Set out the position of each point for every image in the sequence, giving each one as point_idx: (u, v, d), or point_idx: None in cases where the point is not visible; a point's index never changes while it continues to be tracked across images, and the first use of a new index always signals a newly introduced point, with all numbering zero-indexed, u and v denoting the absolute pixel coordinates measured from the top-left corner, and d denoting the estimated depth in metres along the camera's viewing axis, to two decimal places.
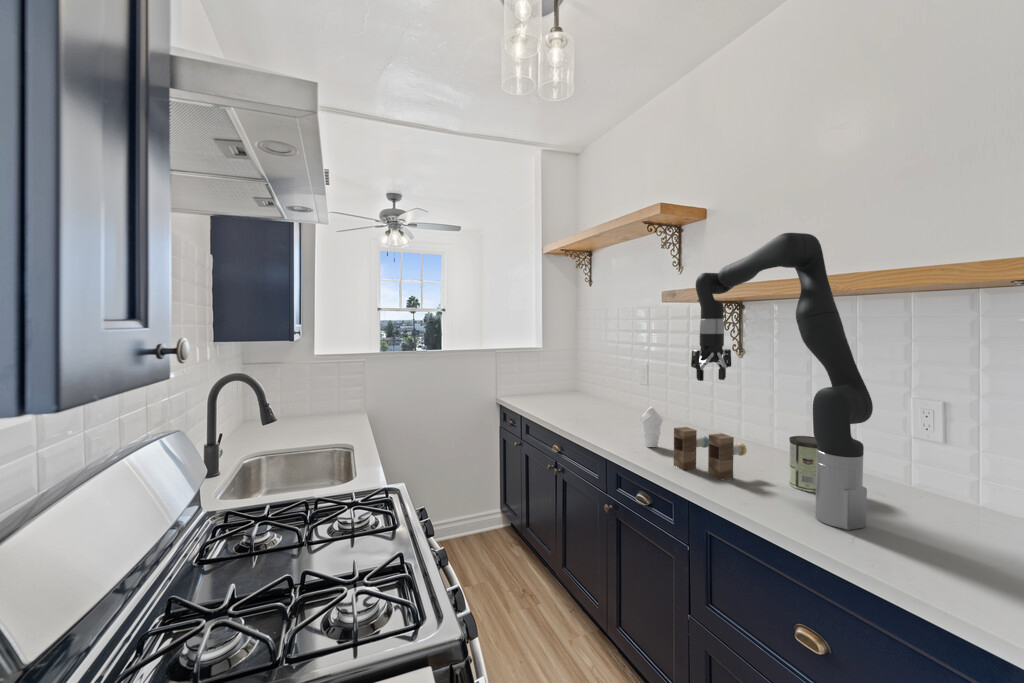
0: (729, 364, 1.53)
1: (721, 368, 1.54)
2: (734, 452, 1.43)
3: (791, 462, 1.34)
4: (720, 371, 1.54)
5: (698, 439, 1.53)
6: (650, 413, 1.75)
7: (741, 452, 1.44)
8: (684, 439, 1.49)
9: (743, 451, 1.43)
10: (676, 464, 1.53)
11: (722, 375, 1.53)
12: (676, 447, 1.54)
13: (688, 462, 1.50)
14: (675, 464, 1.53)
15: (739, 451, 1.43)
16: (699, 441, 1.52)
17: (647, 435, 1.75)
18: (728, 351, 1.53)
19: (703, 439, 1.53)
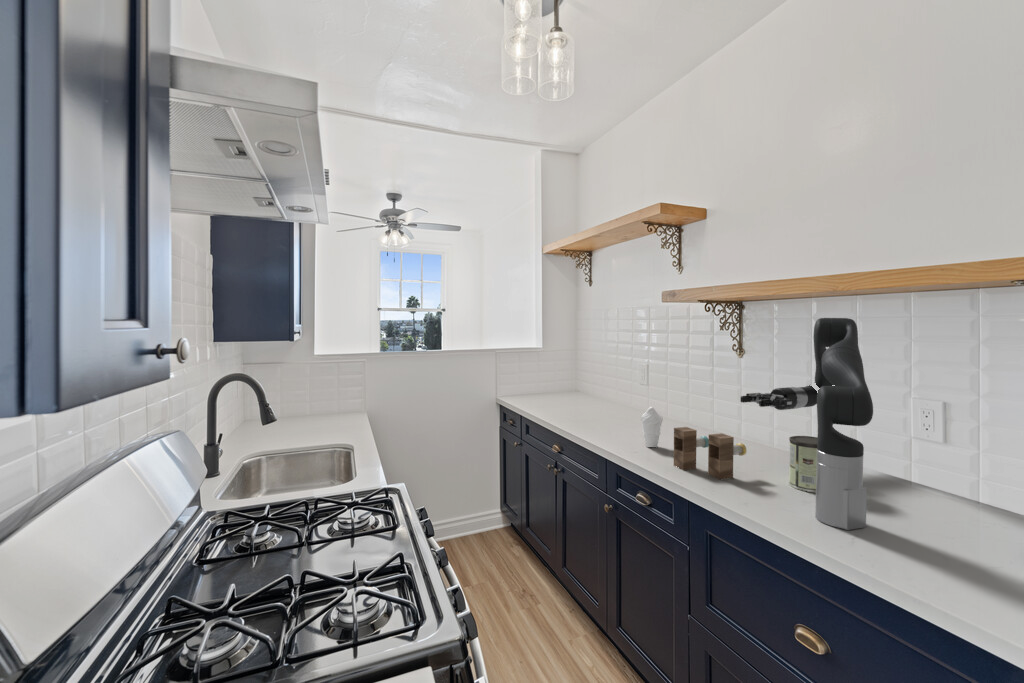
0: (778, 399, 1.47)
1: None
2: (734, 452, 1.43)
3: (791, 462, 1.34)
4: None
5: (698, 439, 1.53)
6: (650, 413, 1.75)
7: (741, 452, 1.44)
8: (684, 439, 1.49)
9: (743, 451, 1.43)
10: (676, 464, 1.53)
11: None
12: (676, 447, 1.54)
13: (688, 462, 1.50)
14: (675, 464, 1.53)
15: (739, 451, 1.43)
16: (699, 441, 1.52)
17: (647, 435, 1.75)
18: None
19: (703, 439, 1.53)
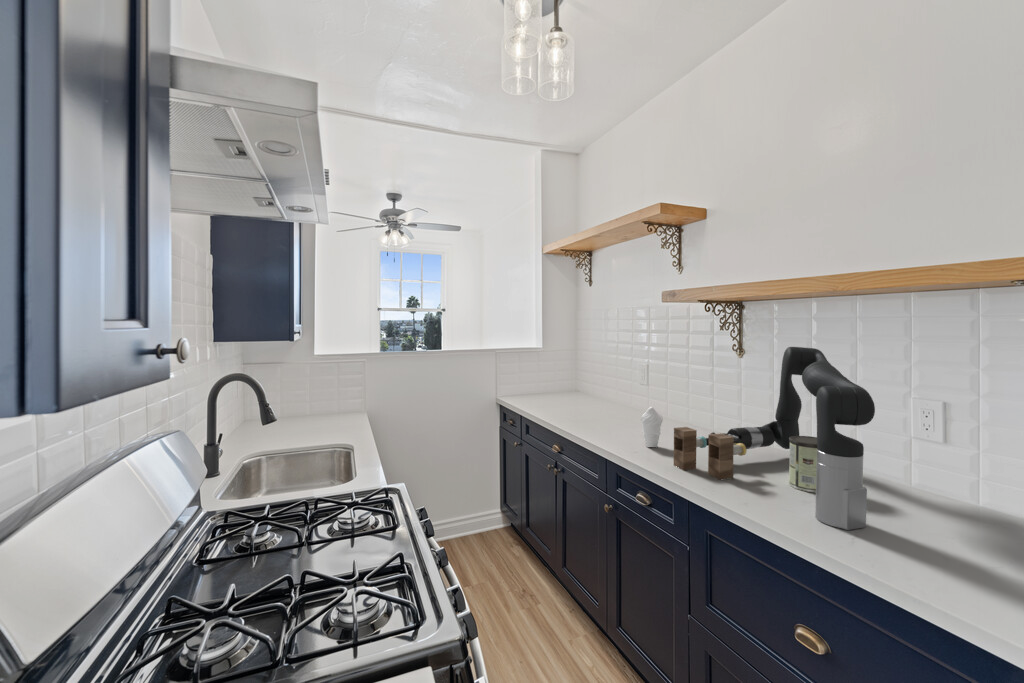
0: None
1: None
2: (734, 452, 1.43)
3: (791, 462, 1.34)
4: None
5: (696, 439, 1.52)
6: (650, 413, 1.75)
7: (741, 452, 1.44)
8: (684, 439, 1.49)
9: (743, 451, 1.43)
10: (676, 464, 1.53)
11: None
12: (676, 447, 1.54)
13: (688, 462, 1.50)
14: (675, 464, 1.53)
15: (739, 451, 1.43)
16: (697, 441, 1.52)
17: (647, 435, 1.75)
18: None
19: (701, 439, 1.53)
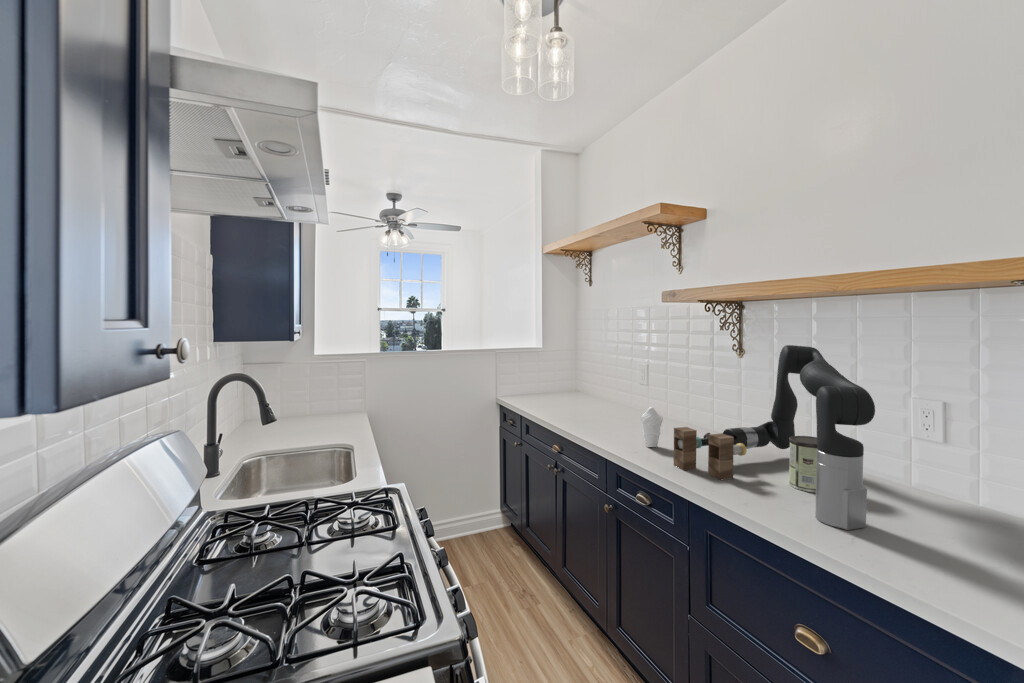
0: None
1: None
2: (734, 452, 1.43)
3: (791, 462, 1.34)
4: None
5: None
6: (650, 413, 1.75)
7: (741, 452, 1.44)
8: (684, 439, 1.49)
9: (743, 451, 1.43)
10: (676, 464, 1.53)
11: None
12: (676, 447, 1.54)
13: (688, 462, 1.50)
14: (675, 464, 1.53)
15: (739, 451, 1.43)
16: None
17: (647, 435, 1.75)
18: None
19: (696, 440, 1.52)
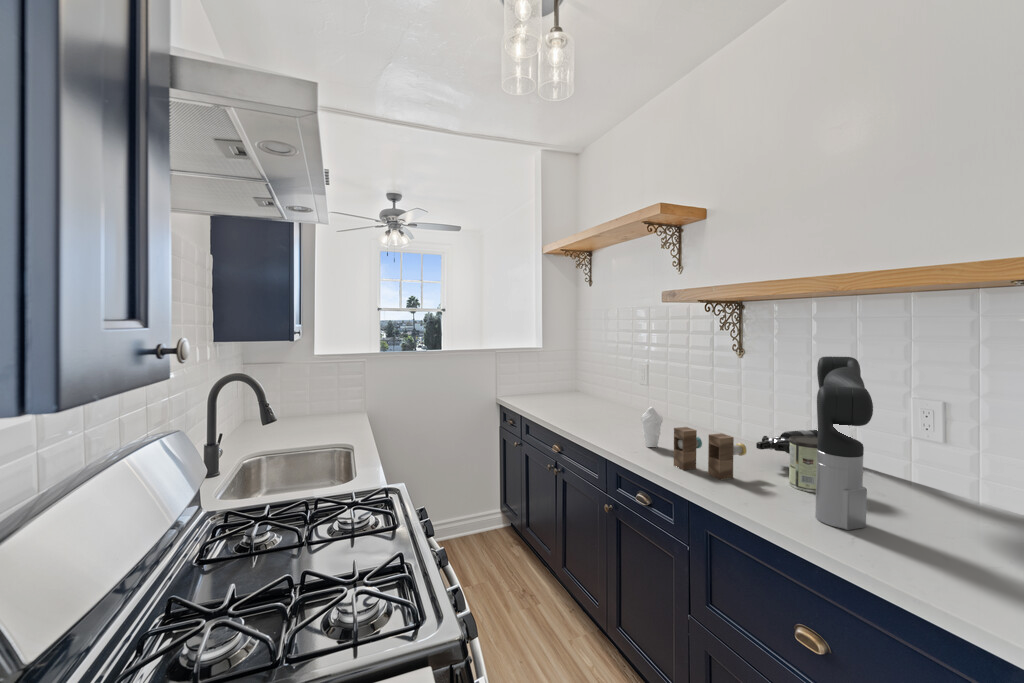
0: (776, 442, 1.49)
1: None
2: (734, 452, 1.43)
3: (791, 462, 1.34)
4: None
5: None
6: (650, 413, 1.75)
7: (741, 452, 1.44)
8: (684, 439, 1.49)
9: (743, 451, 1.43)
10: (676, 464, 1.53)
11: None
12: (676, 447, 1.54)
13: (688, 462, 1.50)
14: (675, 464, 1.53)
15: (739, 451, 1.43)
16: None
17: (647, 435, 1.75)
18: None
19: (696, 440, 1.52)
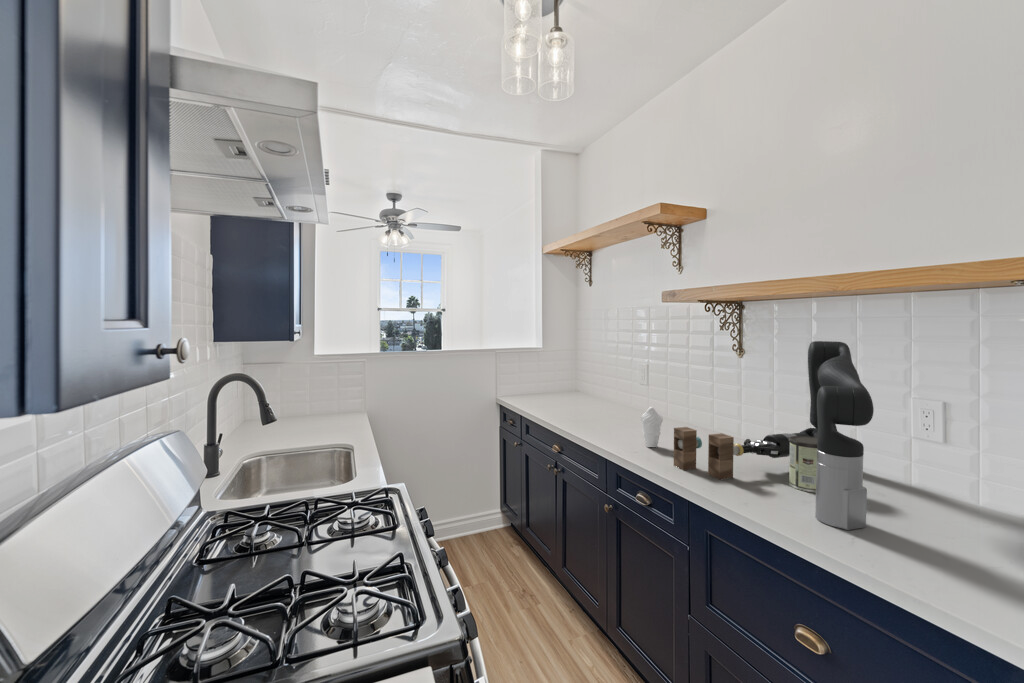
0: (758, 446, 1.44)
1: None
2: None
3: (791, 462, 1.34)
4: None
5: None
6: (650, 413, 1.75)
7: (738, 452, 1.43)
8: (684, 439, 1.49)
9: (740, 451, 1.43)
10: (676, 464, 1.53)
11: None
12: (676, 447, 1.54)
13: (688, 462, 1.50)
14: (675, 464, 1.53)
15: (736, 451, 1.43)
16: None
17: (647, 435, 1.75)
18: None
19: (696, 440, 1.52)
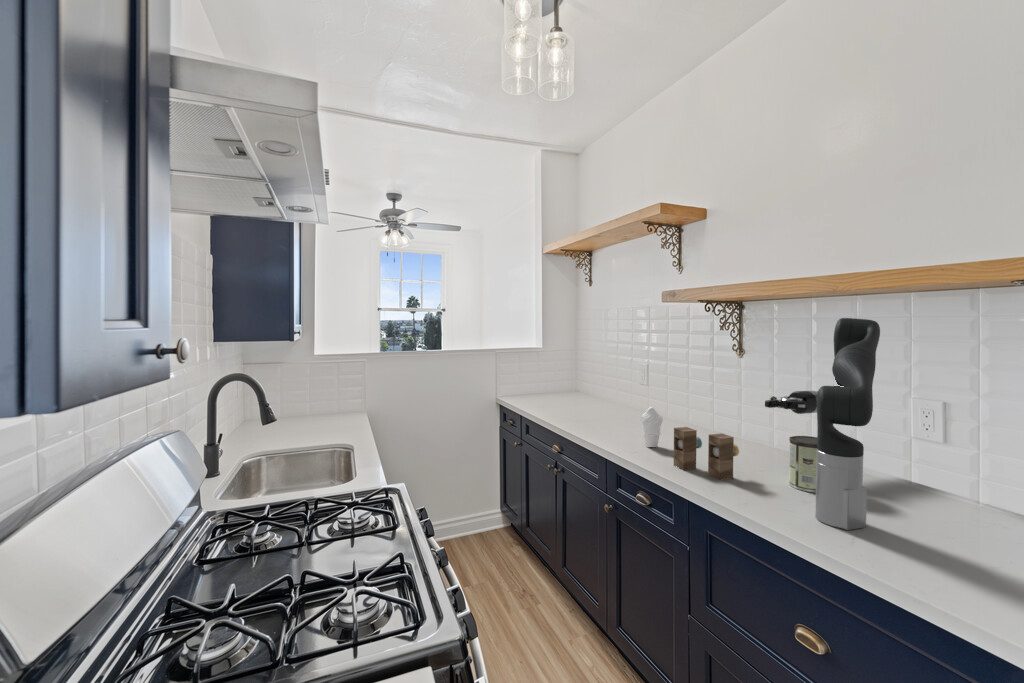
0: (785, 400, 1.47)
1: None
2: None
3: (791, 462, 1.34)
4: None
5: None
6: (650, 413, 1.75)
7: (733, 453, 1.43)
8: (684, 439, 1.49)
9: (735, 452, 1.43)
10: (676, 464, 1.53)
11: None
12: (676, 447, 1.54)
13: (688, 462, 1.50)
14: (675, 464, 1.53)
15: None
16: None
17: (647, 435, 1.75)
18: None
19: (696, 440, 1.52)
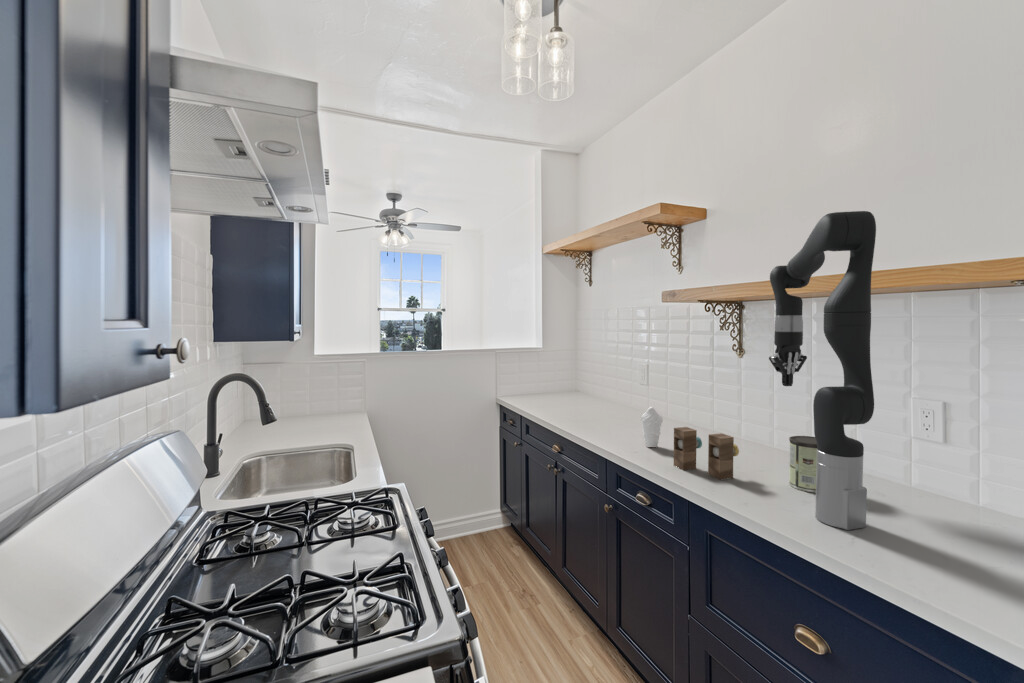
0: (797, 369, 1.40)
1: None
2: None
3: (791, 462, 1.34)
4: None
5: None
6: (650, 413, 1.75)
7: (733, 453, 1.43)
8: (684, 439, 1.49)
9: (735, 452, 1.43)
10: (676, 464, 1.53)
11: None
12: (676, 447, 1.54)
13: (688, 462, 1.50)
14: (675, 464, 1.53)
15: None
16: None
17: (647, 435, 1.75)
18: (804, 357, 1.40)
19: (696, 440, 1.52)
